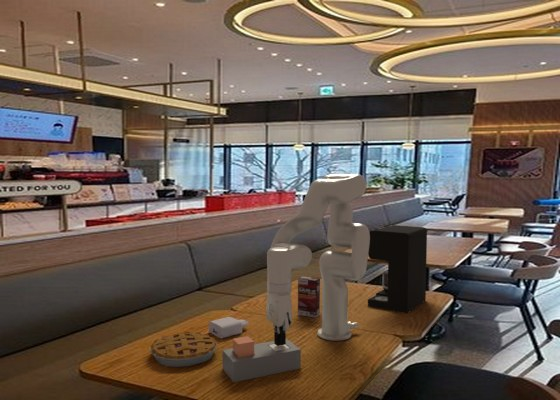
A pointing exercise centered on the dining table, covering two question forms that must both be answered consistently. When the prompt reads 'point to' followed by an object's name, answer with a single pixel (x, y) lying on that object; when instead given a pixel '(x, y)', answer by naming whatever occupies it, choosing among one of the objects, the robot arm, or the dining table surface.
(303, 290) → the supplement box
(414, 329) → the dining table surface
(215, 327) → the charger
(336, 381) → the dining table surface
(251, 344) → the terracotta plunger
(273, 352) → the button box
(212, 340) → the pie
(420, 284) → the coffee maker
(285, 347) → the beige plunger
